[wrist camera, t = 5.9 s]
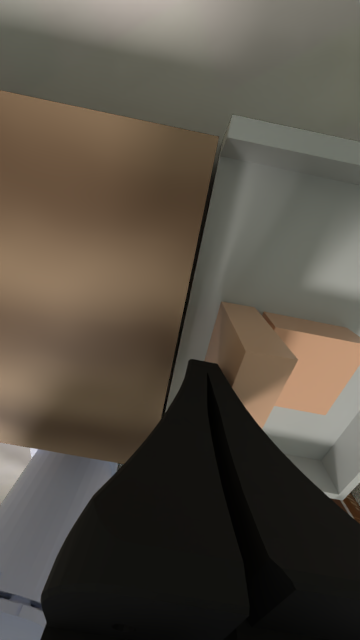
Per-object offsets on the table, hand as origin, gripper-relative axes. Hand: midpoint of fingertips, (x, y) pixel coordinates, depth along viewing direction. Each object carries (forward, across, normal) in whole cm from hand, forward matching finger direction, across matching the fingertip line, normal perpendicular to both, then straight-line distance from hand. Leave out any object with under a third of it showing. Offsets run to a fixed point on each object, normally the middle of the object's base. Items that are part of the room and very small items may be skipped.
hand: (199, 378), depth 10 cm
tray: (+4, -6, 0) cm, 7 cm away
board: (+4, +7, 0) cm, 9 cm away
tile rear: (+2, -6, 0) cm, 6 cm away
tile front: (+1, -1, 0) cm, 2 cm away
